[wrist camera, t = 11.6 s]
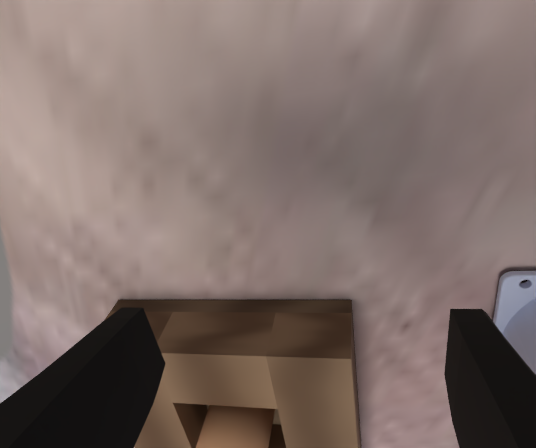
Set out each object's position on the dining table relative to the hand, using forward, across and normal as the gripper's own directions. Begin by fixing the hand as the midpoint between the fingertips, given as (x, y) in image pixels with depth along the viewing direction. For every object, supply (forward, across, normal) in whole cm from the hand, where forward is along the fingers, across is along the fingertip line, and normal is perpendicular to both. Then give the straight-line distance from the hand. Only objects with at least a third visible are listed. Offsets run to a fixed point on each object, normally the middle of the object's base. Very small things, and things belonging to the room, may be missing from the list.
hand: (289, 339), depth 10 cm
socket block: (+10, +6, +15) cm, 19 cm away
